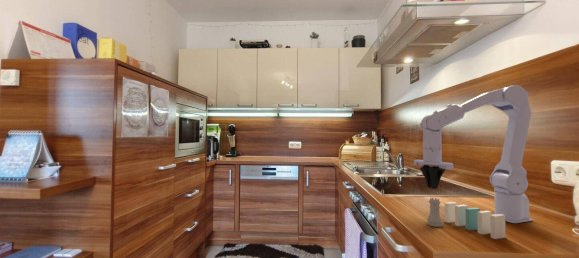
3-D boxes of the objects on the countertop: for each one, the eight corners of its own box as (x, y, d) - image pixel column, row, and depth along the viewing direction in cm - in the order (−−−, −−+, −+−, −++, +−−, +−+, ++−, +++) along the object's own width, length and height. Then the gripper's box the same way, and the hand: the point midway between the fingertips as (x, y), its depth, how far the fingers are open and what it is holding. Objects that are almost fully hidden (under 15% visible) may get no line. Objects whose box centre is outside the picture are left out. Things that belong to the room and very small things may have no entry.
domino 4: (487, 231, 76) (487, 210, 76) (491, 232, 75) (491, 211, 75) (477, 233, 75) (477, 211, 75) (481, 234, 73) (481, 212, 74)
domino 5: (500, 235, 73) (500, 213, 73) (505, 237, 71) (505, 215, 72) (490, 237, 71) (490, 215, 71) (495, 239, 70) (495, 216, 70)
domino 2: (464, 223, 82) (464, 204, 83) (467, 225, 81) (467, 205, 81) (454, 225, 81) (454, 205, 81) (458, 226, 80) (458, 206, 80)
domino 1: (453, 220, 86) (453, 201, 86) (457, 221, 85) (457, 202, 85) (444, 221, 84) (444, 202, 85) (448, 222, 83) (447, 203, 83)
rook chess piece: (445, 228, 78) (445, 201, 79) (429, 226, 79) (429, 200, 79) (440, 223, 83) (439, 197, 83) (424, 222, 84) (424, 196, 84)
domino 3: (476, 227, 79) (476, 207, 79) (480, 229, 78) (479, 208, 78) (465, 228, 78) (465, 208, 78) (469, 230, 77) (469, 209, 77)
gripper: (407, 147, 97) (407, 184, 97) (441, 149, 84) (442, 192, 83) (422, 147, 100) (422, 183, 99) (458, 149, 86) (458, 191, 86)
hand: (432, 188), depth 91 cm, fingers closed
